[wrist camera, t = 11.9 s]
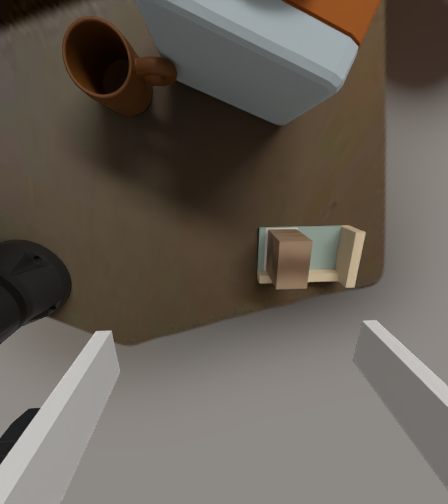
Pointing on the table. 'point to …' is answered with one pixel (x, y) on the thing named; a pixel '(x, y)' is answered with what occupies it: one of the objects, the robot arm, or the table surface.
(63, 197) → the table surface
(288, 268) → the block
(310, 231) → the toy stand
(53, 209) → the table surface
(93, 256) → the table surface
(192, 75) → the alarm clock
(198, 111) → the table surface
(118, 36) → the mug
